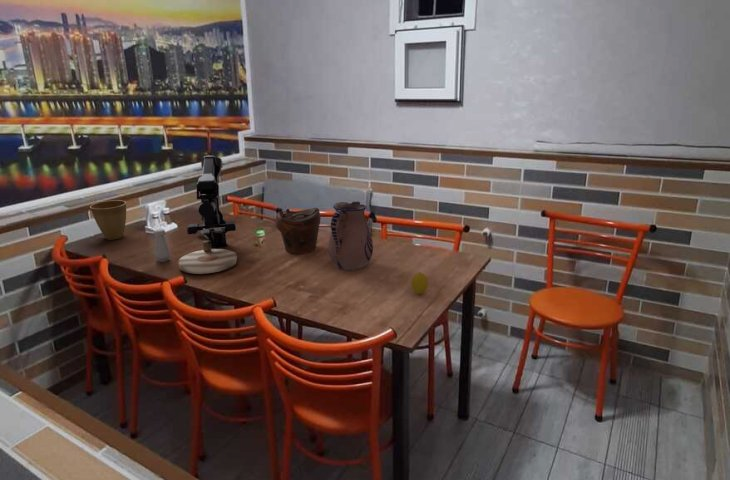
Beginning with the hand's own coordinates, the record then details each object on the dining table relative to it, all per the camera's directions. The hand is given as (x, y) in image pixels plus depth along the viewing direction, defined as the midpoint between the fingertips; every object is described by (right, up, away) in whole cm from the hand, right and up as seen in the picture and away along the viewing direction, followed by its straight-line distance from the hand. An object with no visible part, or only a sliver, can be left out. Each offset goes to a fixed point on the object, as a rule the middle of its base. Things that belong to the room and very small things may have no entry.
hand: (214, 247), depth 205 cm
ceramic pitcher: (+56, -8, -10) cm, 57 cm away
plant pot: (-55, +4, +28) cm, 62 cm away
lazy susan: (0, -6, -7) cm, 9 cm away
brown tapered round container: (+34, -1, +11) cm, 35 cm away
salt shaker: (-21, -6, -1) cm, 22 cm away
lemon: (+80, -16, -34) cm, 89 cm away
